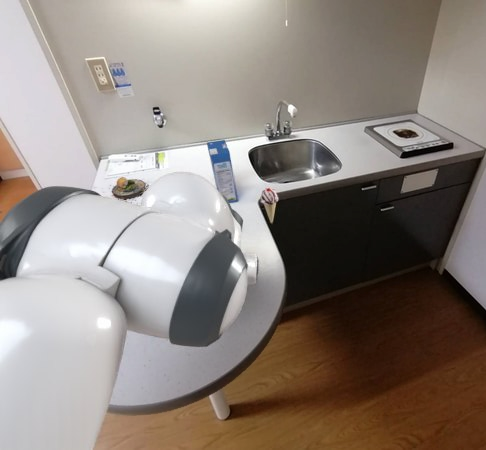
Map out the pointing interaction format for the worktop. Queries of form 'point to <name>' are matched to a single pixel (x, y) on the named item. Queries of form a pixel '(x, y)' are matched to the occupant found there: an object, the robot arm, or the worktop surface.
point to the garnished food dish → (127, 188)
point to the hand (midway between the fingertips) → (140, 270)
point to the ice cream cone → (269, 202)
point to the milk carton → (222, 169)
